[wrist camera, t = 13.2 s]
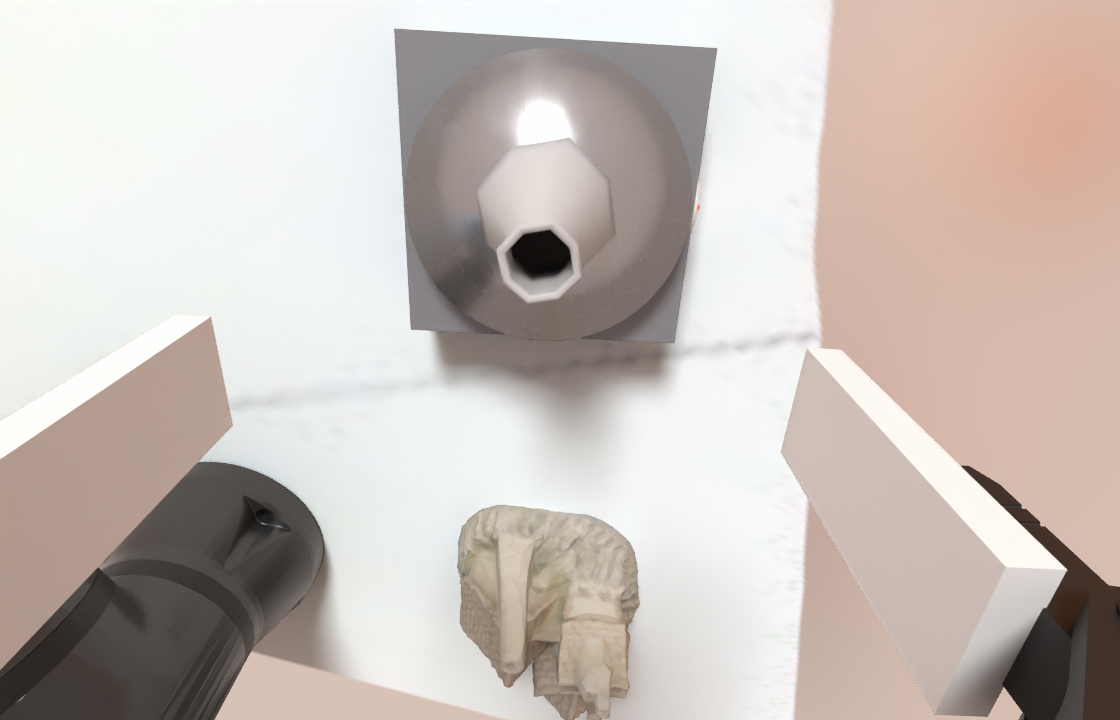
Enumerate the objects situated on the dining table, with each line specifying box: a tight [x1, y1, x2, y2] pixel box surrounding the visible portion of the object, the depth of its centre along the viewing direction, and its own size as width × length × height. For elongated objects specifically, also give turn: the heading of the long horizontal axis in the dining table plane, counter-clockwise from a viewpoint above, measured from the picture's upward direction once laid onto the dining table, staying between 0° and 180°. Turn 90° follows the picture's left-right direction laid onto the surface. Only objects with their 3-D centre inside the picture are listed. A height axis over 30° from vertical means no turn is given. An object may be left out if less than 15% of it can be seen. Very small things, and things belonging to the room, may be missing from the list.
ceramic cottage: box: [457, 505, 640, 720], centre depth 46 cm, size 16×16×15 cm
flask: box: [475, 137, 616, 305], centre depth 27 cm, size 7×7×10 cm
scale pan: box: [405, 48, 692, 341], centre depth 32 cm, size 15×15×1 cm
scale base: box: [394, 29, 717, 343], centre depth 35 cm, size 16×16×6 cm
